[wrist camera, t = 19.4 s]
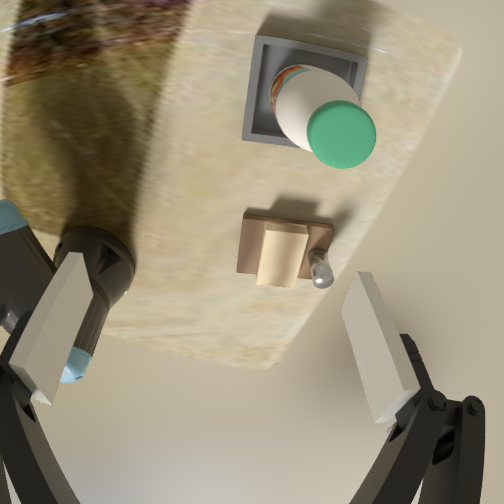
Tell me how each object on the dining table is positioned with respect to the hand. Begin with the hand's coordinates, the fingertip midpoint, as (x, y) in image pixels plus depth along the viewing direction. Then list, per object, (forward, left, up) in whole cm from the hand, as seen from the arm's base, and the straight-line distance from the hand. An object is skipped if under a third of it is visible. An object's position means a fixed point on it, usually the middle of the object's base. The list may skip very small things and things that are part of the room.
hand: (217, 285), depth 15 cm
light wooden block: (+8, -18, -28) cm, 34 cm away
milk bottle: (+7, +6, -29) cm, 30 cm away
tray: (+7, +6, -29) cm, 31 cm away
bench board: (+9, -18, -29) cm, 35 cm away
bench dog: (+14, -18, -28) cm, 36 cm away
